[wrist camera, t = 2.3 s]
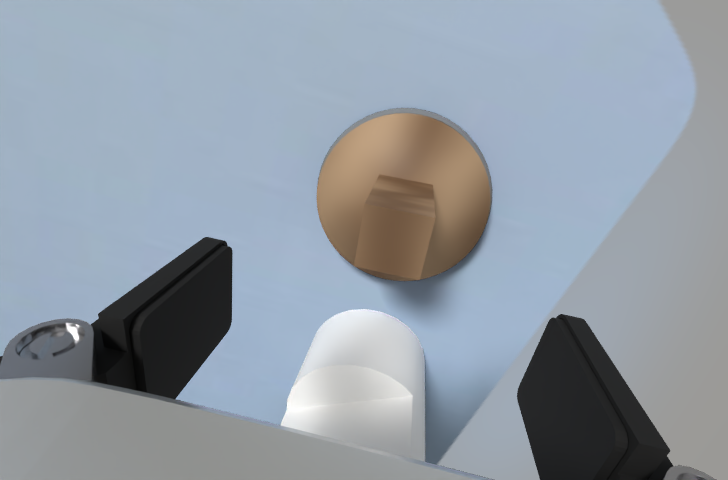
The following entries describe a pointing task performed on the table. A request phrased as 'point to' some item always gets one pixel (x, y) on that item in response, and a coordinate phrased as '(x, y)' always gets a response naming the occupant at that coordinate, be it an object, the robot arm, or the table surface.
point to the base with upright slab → (363, 384)
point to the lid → (403, 197)
